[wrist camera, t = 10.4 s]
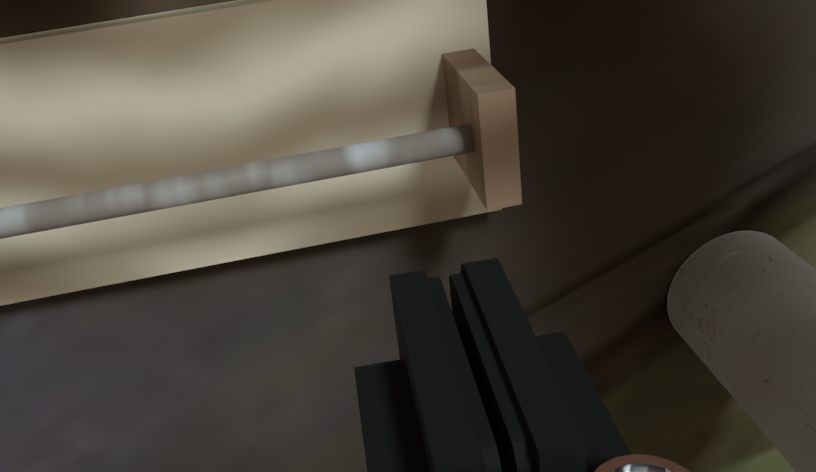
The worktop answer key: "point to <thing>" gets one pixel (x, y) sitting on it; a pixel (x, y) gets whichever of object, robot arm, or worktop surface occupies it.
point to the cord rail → (243, 135)
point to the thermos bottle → (755, 332)
